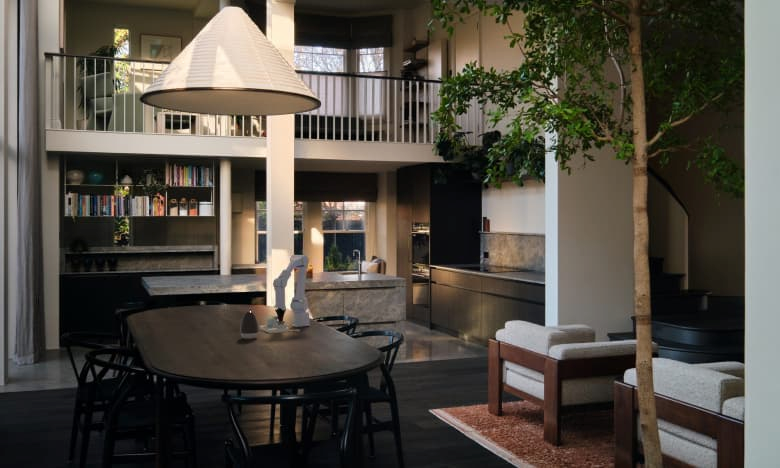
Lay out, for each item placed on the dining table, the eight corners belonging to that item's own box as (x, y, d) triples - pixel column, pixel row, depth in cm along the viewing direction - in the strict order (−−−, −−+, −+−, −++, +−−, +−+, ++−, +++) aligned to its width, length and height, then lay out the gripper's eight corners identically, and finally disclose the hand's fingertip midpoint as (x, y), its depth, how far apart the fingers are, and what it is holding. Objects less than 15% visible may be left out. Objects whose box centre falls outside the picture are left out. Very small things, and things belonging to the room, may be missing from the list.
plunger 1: (276, 321, 431) (276, 316, 431) (278, 321, 428) (278, 316, 428) (271, 321, 429) (271, 316, 429) (273, 322, 426) (272, 317, 426)
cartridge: (273, 326, 425) (272, 317, 425) (275, 327, 421) (275, 318, 421) (265, 326, 423) (265, 317, 423) (268, 327, 419) (268, 318, 419)
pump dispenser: (261, 336, 400) (260, 310, 399) (255, 340, 389) (255, 312, 389) (243, 336, 401) (243, 310, 400) (237, 339, 390) (237, 312, 390)
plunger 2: (282, 325, 421) (282, 320, 421) (284, 326, 418) (284, 321, 418) (277, 326, 420) (276, 321, 420) (278, 326, 417) (278, 321, 417)
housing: (278, 327, 434) (278, 320, 433) (289, 331, 417) (289, 324, 417) (259, 329, 428) (259, 322, 428) (269, 333, 411) (269, 326, 411)
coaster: (297, 329, 423) (297, 329, 423) (301, 331, 417) (301, 330, 417) (287, 330, 420) (287, 329, 420) (291, 332, 414) (291, 331, 414)
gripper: (269, 297, 423) (270, 320, 424) (277, 299, 411) (278, 323, 411) (281, 296, 427) (281, 319, 427) (289, 299, 414) (289, 322, 414)
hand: (280, 321), depth 419 cm, fingers closed
